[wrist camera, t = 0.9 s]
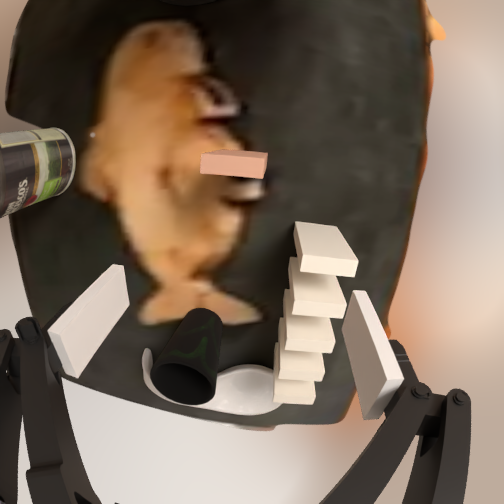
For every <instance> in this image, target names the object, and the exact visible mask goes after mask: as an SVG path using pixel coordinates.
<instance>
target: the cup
mask: <svg viewBox="0 0 504 504" xmlns="http://www.w3.org/2000/svg"><path fill="white" fill-rule="evenodd" d="M222 328H223V325H222V321H221V319H220V318H219V316H218V315H217V314H216V313H214V312H213V311H211V310H208V309H205V308H196V309H193V310H191V311H189V312H188V314H187V315H186V316H185V318H184V319H183V321H182V322H181V324H180V325H179V327H178V328H177V330H176V331H175V333H174V334H173V336H172V337H171V339H170V341H169V342H168V344H167V345H166V347H165V348H164V350H163V351H162V353H161V354H160V356H159V357H158V359H157V360H156V362H155V364H154V365H153V367H152V368H151V371H150V379H151V381H152V384H153V385H154V387H155V388H156V389H157V390H158V391H159V392H160V393H161V394H162V395H163V396H165V397H166V398H168V399H170V400H172V401H174V402H177V403H180V404H185V405H201V404H205V403H207V402H209V401H210V400H212V399H213V397H214V396H215V392H216V383H217V373H218V364H219V355H220V346H221V337H222Z"/></svg>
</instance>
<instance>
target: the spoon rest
mask: <svg viewBox="0 0 504 504" xmlns="http://www.w3.org/2000/svg"><path fill="white" fill-rule="evenodd" d="M152 366H153V360H152V353H151V350H150V349H148V348H146V349H145V350H144V353H143V356H142V367H143V373H144V381H145V383H146V385H147V386H148V388H149V389H150V390H151V391H153V392H154V393H155V394H156V395H158V396H160V397H161V398H163V399H165V400H168V401H170V402H173V403H177V402H174V401H172V400H170V399H168V398H166V397H165V396H163V395H162V394H161V393H160V392H159V391H158V390H157V389H156V388H155V387H154V385H153V384H152V381H151V379H150V371H151V368H152ZM273 373H274V370H272V369H270V368H267V367H264V366H261V365H254V364H245V365H238V366H234V367H231V368H228V369H226V370H224V371H222V372H220V373H218V374H217V383H216V392H215V396H214V397H213V399H212V400H210V401H209V402H207V403H205V404H201V405H187V406H193V407H199V408H205V409H210V410H215V411H220V412H226V413H232V414H239V415H258V414H263V413H267V412H270V411H272V410H274V409H276V408H277V407H279V406H280V405H281V404H282V403H277V402H273ZM177 404H180V403H177ZM181 405H185V404H181Z"/></svg>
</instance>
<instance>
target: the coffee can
mask: <svg viewBox="0 0 504 504" xmlns="http://www.w3.org/2000/svg"><path fill="white" fill-rule="evenodd" d="M75 166H76V156H75V149H74V146H73V143H72V141H71V139H70V137H69V136H68V134H67V133H66V132H64V131H63V130H61V129H59V128H49V129H37V130H27V131H17V132H8V133H0V218H2V217H4V216H6V215H8V214H11V213H13V212H15V211H18V210H20V209H22V208H24V207H27V206H29V205H32V204H34V203H37V202H39V201H42V200H45V199H47V198H50V197H53V196H57V195H60V194H61V193H63V192H64V191H65V190H66V189H67V188H68V186H69V185H70V183H71V181H72V179H73V176H74V172H75Z"/></svg>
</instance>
